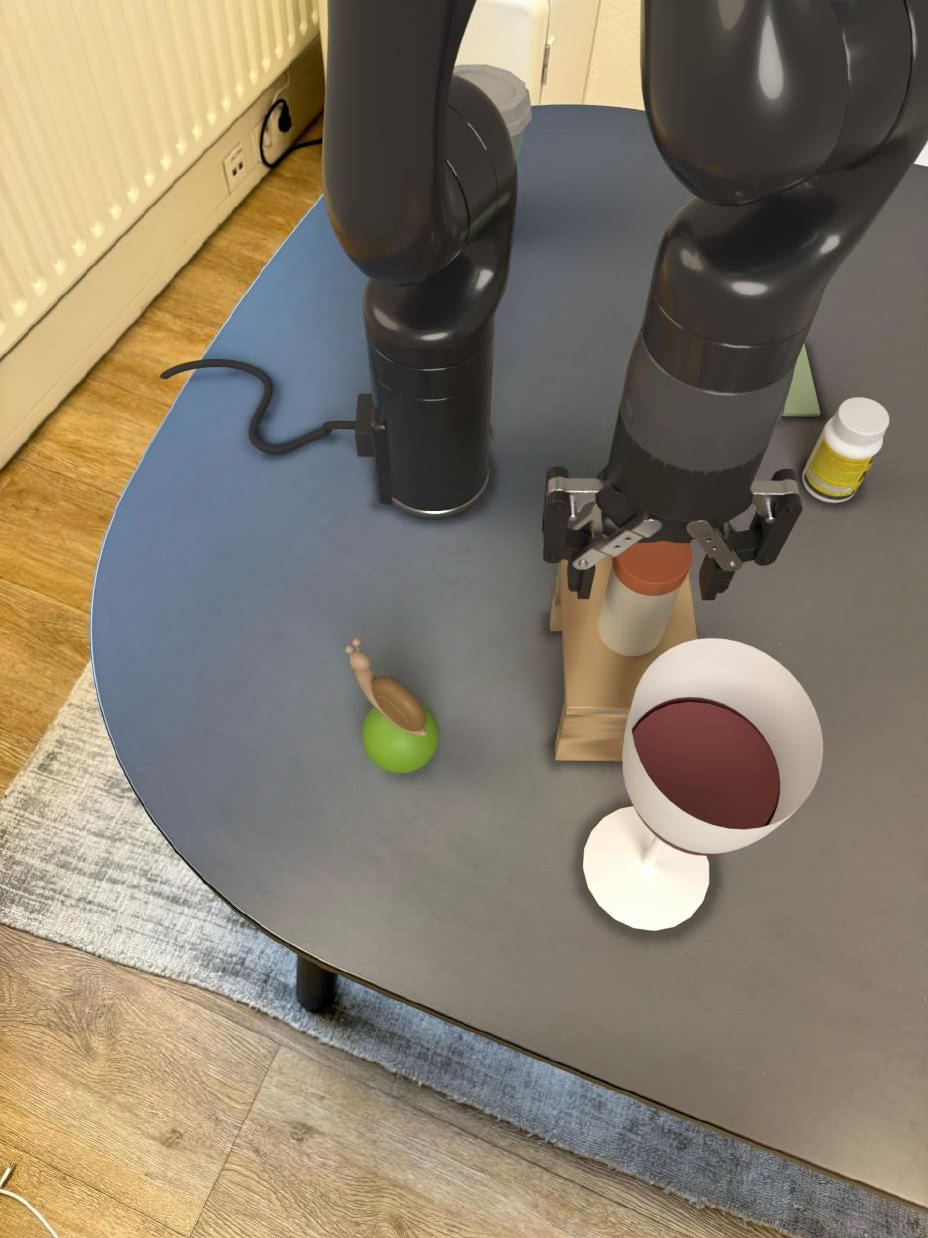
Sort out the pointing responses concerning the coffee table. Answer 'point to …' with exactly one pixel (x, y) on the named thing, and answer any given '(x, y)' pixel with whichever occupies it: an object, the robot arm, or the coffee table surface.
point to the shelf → (602, 668)
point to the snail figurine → (393, 720)
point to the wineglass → (700, 776)
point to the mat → (802, 390)
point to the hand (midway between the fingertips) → (643, 587)
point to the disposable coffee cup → (502, 96)
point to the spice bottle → (642, 595)
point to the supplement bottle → (845, 450)
